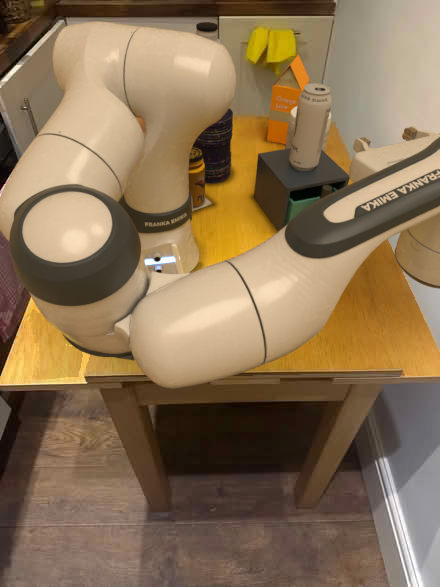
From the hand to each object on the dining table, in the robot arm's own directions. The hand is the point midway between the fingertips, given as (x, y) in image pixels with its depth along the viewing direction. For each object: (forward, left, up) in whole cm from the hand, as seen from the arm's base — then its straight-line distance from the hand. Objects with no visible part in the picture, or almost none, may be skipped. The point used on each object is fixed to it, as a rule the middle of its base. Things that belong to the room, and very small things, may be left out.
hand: (382, 136), depth 62 cm
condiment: (-23, +28, -25) cm, 45 cm away
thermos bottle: (-10, +53, -25) cm, 60 cm away
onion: (-30, +54, -25) cm, 67 cm away
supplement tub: (+8, +32, -25) cm, 42 cm away
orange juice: (+12, +50, -25) cm, 57 cm away
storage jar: (-14, +38, -25) cm, 48 cm away
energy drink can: (-1, +18, -14) cm, 23 cm away
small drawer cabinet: (-1, +18, -25) cm, 31 cm away
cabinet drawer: (-1, +16, -24) cm, 29 cm away
